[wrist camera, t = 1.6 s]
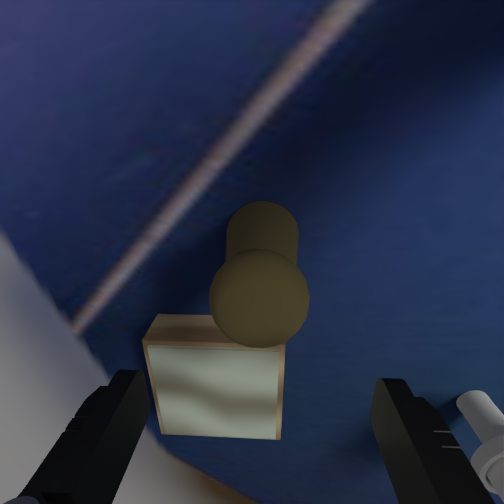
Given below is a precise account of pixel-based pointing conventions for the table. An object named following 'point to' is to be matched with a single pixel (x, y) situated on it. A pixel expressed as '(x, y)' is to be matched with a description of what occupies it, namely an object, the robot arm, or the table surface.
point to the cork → (260, 278)
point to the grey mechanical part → (486, 438)
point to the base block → (212, 380)
